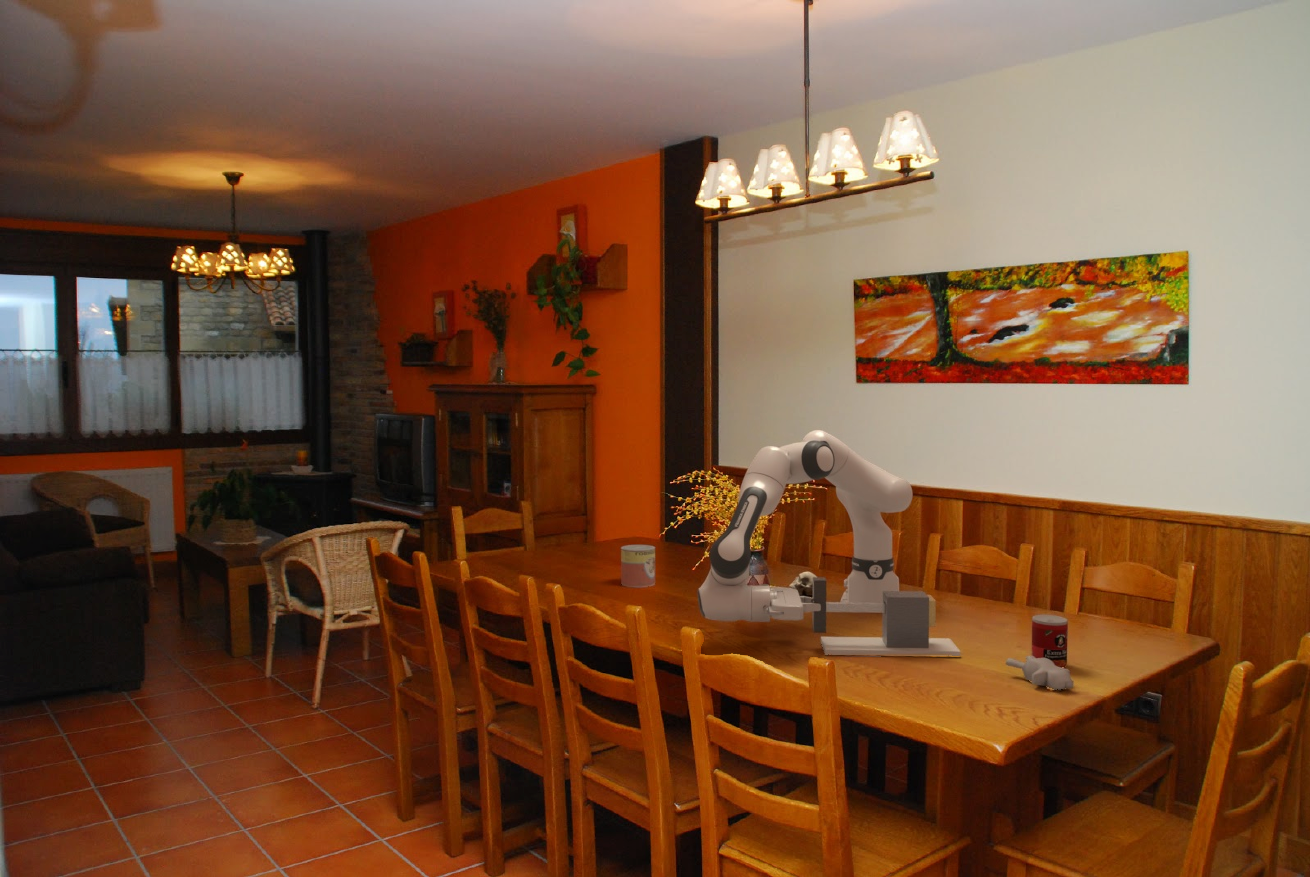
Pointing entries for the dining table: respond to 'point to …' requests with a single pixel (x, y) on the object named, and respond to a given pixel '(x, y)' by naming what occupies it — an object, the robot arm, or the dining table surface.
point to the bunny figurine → (1043, 672)
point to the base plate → (884, 647)
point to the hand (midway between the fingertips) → (819, 604)
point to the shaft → (836, 606)
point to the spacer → (932, 611)
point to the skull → (804, 584)
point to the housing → (906, 619)
